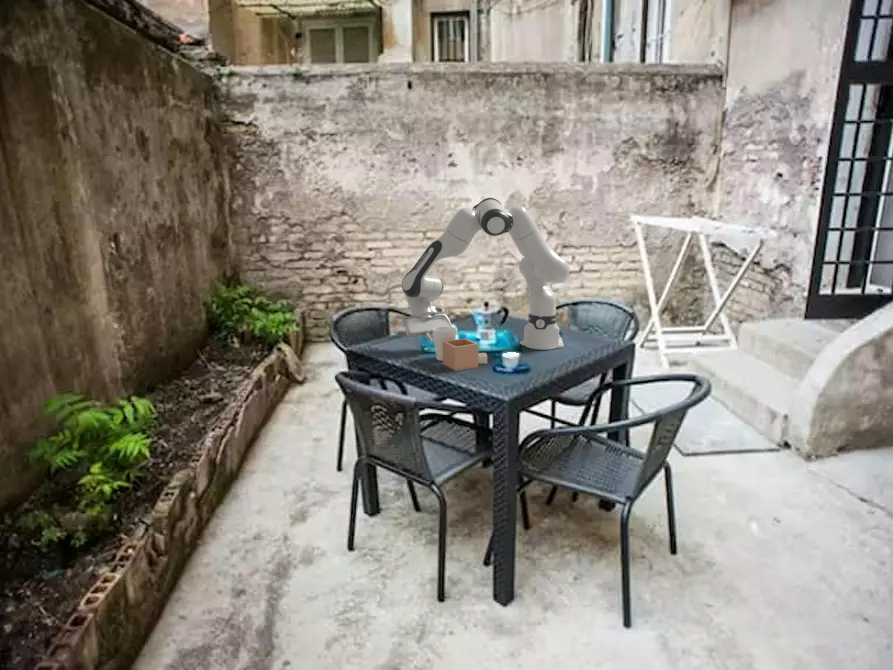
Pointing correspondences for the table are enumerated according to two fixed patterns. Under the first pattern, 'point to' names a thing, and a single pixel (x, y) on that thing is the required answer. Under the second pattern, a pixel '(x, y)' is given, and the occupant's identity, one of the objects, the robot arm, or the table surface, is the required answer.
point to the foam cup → (442, 338)
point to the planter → (460, 354)
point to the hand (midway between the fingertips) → (434, 342)
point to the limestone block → (482, 358)
